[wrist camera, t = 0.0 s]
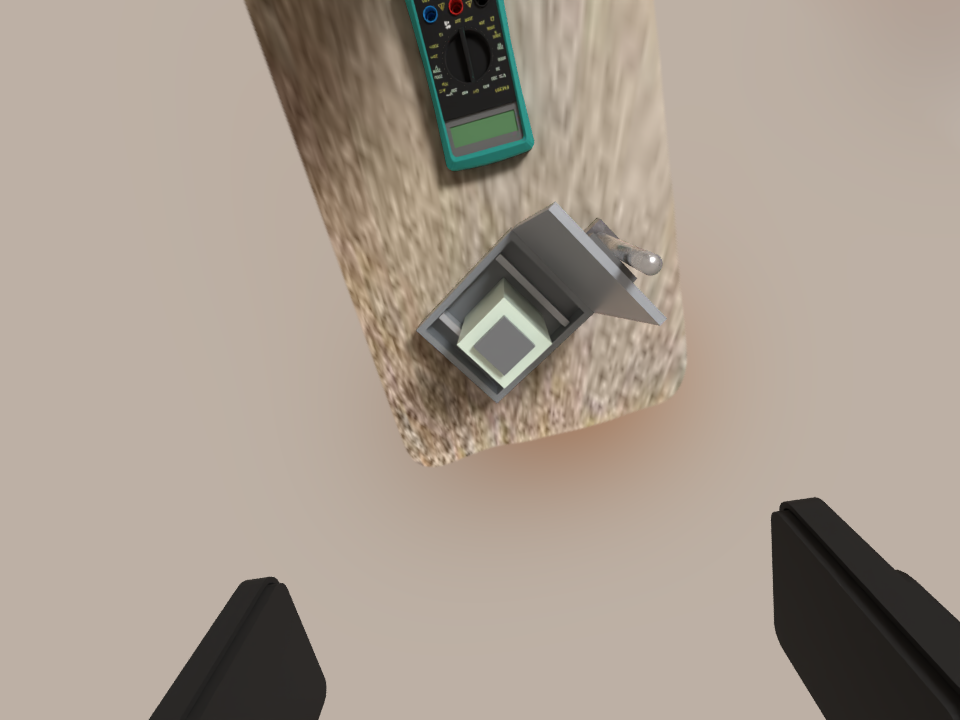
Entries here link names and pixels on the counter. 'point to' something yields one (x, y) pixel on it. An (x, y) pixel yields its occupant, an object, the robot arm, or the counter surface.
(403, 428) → the counter surface
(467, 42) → the digital multimeter
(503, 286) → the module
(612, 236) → the clear capped tube
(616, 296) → the lid
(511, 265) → the case
